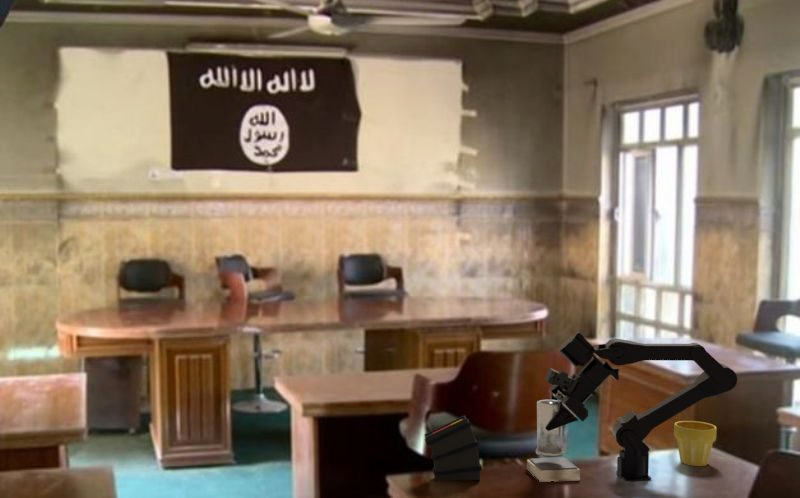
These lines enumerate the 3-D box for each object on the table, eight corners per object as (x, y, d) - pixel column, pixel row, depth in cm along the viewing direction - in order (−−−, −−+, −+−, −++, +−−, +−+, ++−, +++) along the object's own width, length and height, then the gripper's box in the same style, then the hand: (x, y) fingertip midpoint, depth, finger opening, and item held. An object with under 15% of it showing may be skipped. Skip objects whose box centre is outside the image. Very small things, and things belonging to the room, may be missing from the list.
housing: (558, 448, 224) (558, 398, 223) (568, 456, 217) (567, 404, 216) (532, 450, 222) (531, 400, 222) (541, 457, 216) (540, 405, 215)
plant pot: (716, 459, 236) (717, 422, 235) (714, 470, 226) (715, 431, 226) (675, 455, 239) (675, 418, 239) (671, 465, 230) (672, 427, 229)
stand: (565, 468, 226) (565, 456, 226) (579, 480, 216) (580, 468, 216) (526, 470, 224) (527, 458, 224) (539, 482, 214) (539, 469, 214)
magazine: (494, 474, 215) (467, 417, 214) (444, 498, 214) (417, 442, 213) (491, 469, 218) (465, 414, 217) (442, 493, 218) (416, 437, 217)
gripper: (557, 351, 228) (514, 395, 228) (574, 363, 209) (527, 412, 210) (588, 381, 229) (545, 426, 229) (608, 396, 210) (561, 445, 210)
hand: (544, 426), depth 219 cm, fingers closed on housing, 6 cm apart
